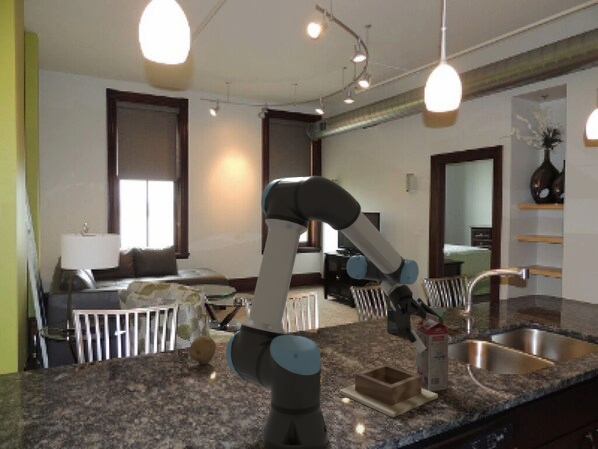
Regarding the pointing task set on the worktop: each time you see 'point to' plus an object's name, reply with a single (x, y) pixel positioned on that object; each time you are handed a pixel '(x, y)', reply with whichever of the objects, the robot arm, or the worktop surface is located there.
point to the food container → (439, 312)
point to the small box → (391, 323)
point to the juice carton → (433, 354)
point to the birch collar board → (388, 390)
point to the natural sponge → (202, 349)
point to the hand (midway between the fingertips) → (436, 346)
